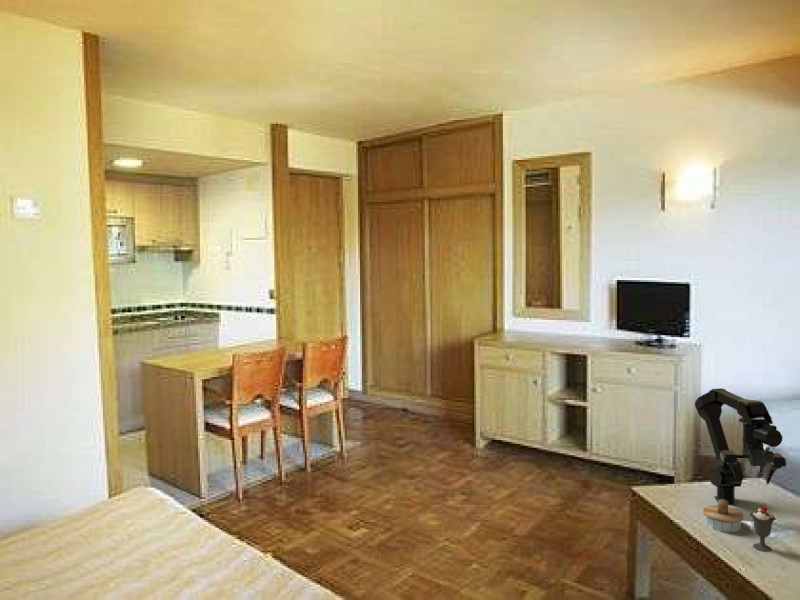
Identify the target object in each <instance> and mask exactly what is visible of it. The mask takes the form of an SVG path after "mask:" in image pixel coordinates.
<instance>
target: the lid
mask: <svg viewBox="0 0 800 600" xmlns="http://www.w3.org/2000/svg"><path fill="white" fill-rule="evenodd" d="M733 508H734V507H729V504H728V501H727V500H724V499H719V500H718V502H717V505H716V504H715V505H707V506H705V507H704V508H703V510H702V511H703V514H704V516H705V515H706V516H707V517H709V518H711V519H713V520H716V521H720V522H726V523H737V522H740V521H741V522H743V521H742V520H743V514H742V513H741V512H739V511H738V510H735V509H733Z"/></svg>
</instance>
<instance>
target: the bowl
mask: <svg viewBox="0 0 800 600" xmlns="http://www.w3.org/2000/svg"><path fill="white" fill-rule="evenodd" d="M704 516H705V523H706V525H707V526H708V527H709V528H710V529H714V530H716V531H720V532H723V533H724V532H725V533H735V532H738V531H740V530H741V527H742V525H741V523H742V521H740V522H737V523H726V522H720V521H716V520H713V519H711V518H709V517H707V516H706V515H705V514H704Z"/></svg>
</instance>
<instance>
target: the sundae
mask: <svg viewBox="0 0 800 600" xmlns="http://www.w3.org/2000/svg"><path fill="white" fill-rule="evenodd" d="M756 510H757V511H754V512H751V513H750V516H751V517H752V518H753V521H754V522H753V521H752V522H753V527H754V528H753V529H754V532H755V534H756V535H757V536H759V543H754V544H753V545H752V547H753V548H754V549H755V550H757V551H761V552H764V553H765V552H766V553H768V552H771V551H773V549H772V547H771V546H770V545H767V544H766V539H765V538H767V537H769V536H771V531H772V525H773V522H774V521H776V517H775V516H774V515H773V513H771V511H770V510H769V508H768V507H767V506H766V502H764V504H763V505H761V506H759V507H758V508H757V509H756Z"/></svg>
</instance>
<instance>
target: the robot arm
mask: <svg viewBox="0 0 800 600" xmlns="http://www.w3.org/2000/svg"><path fill="white" fill-rule="evenodd" d="M724 405H725V406H728V407H730V408H732V409H733V410H735V411H736V413H737V414H738V415H739V416H740V417H741V418H739V419H738V421H739V422H740V423H742V438H741V441H742V449H741V453H742V454H738V453H735V451H733V450H730V449H729V444H728V441H727V438H726V435H725V431H724V429H723V425H722V423H721V422H722V421H721V416H722V413H723V408H722V407H723V406H724ZM694 407H695V408H696V411H697V414H698V416H699V417H700V418H701V419H702V420H703V421H705V424H706V428H707V431H708V434H709V438H710V440H711V445H712V447H713V451H714V454H715V457H716V462H715V464H714V474H712V475H711V476H710V478H709V479H710V483H711V485H713V486H715V487H716V495H714V496H713V497H714V499H715V501H716V502H717V503H718V500H719V499H724V500H727V501H728V505H738V502H737V500H736V499H735V496H736V494H735V493H736V492H735V490H736V488H735V487H737V488H738V487H741V486H742V483H743V479H744V474H743V473H744V472H743V469H742V467H741V463H740V461H747V462H748V461H749V465H750V466H752V467H762V468H763V467H764V468H765V482H766V484H767V485H769V484H770V482H771V479H772V477H773V475H774V473H775V472H776V471H777V470H778V469H782V467H786V466H787V459H786V458H785V457H784V456H783V455H782V454H781V453H779V452H773V451H768V450H765V449H764V445H766V446H769V447H771V448H777V447H779V446H780V445H781V444H782V442H783V435H782V433H781V431H779V430H778V427H777V426H776V425H773V424H774V423H773V419H772V418H773V417H772V416H771V414H769V413H770V412H769V411H768V408H767V406H766V405H765V403H764V402H763V401H761V400H755V399H746V398H744V397H741V396H739V395H737V394H735V393H732V392H730V391H728V390H726V388H712V389H710V390H708V392H706V393H704V394H702V395H700V396H699V397H697V398H696V400H695V402H694Z"/></svg>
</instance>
